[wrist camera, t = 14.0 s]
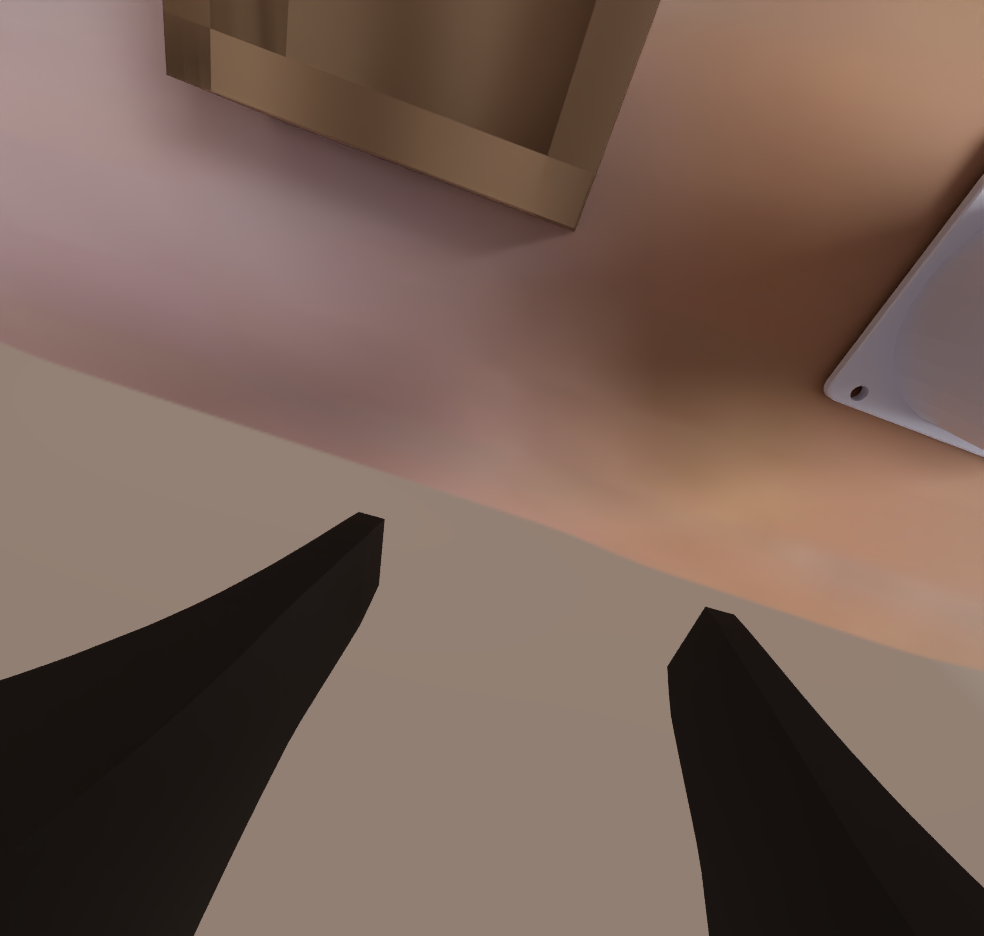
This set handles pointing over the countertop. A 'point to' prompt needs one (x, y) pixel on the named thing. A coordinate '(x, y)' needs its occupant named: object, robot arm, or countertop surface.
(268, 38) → the brown tray
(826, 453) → the countertop surface
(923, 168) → the countertop surface
